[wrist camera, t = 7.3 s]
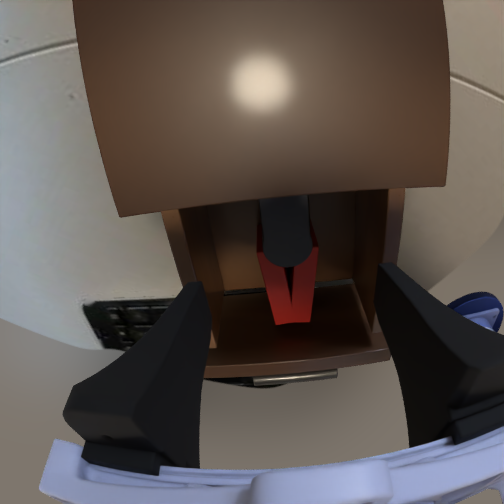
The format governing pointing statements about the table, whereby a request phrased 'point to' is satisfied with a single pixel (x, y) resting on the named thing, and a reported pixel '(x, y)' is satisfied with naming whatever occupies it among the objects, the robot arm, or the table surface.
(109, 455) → the robot arm
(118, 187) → the cabinet
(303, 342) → the drawer
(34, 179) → the table surface
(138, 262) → the table surface
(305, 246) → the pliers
